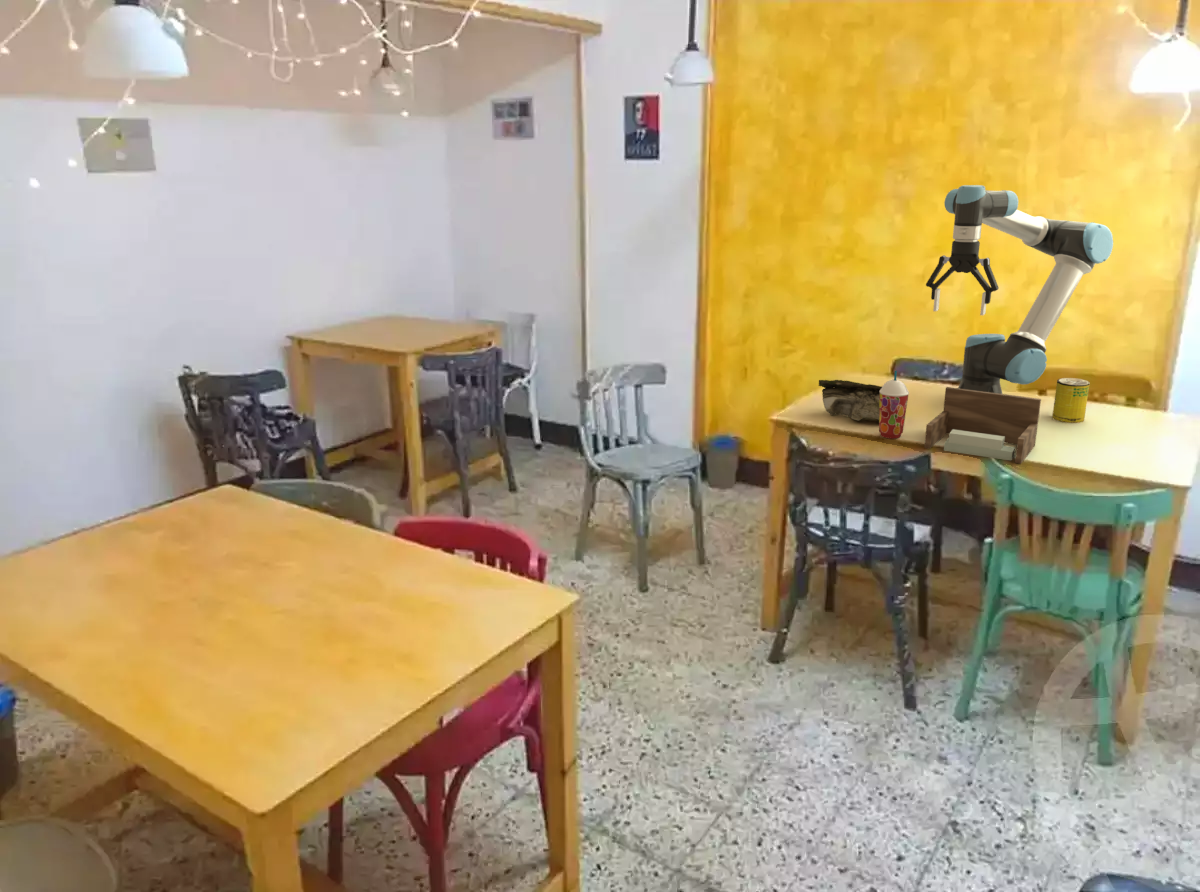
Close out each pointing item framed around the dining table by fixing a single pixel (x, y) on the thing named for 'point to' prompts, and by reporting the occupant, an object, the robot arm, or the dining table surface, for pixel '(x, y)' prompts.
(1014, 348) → the robot arm
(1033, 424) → the walnut rack
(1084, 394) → the beverage can
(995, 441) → the offcut stack
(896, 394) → the smoothie
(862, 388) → the hollow geode rock
